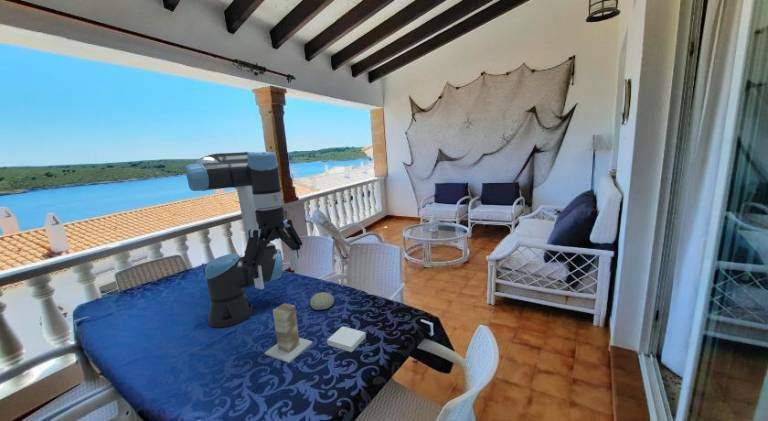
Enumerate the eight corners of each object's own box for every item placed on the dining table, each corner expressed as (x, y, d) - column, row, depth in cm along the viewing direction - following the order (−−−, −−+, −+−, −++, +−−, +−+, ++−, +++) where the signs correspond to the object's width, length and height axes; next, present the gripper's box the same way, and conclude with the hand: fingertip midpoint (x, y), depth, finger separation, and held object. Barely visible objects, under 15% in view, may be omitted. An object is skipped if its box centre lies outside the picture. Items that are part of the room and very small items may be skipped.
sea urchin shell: (330, 307, 112) (315, 293, 112) (318, 320, 114) (303, 306, 114) (339, 296, 121) (324, 282, 121) (327, 308, 123) (313, 295, 123)
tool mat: (264, 354, 90) (264, 352, 90) (289, 336, 98) (289, 334, 98) (289, 363, 85) (289, 361, 85) (312, 343, 94) (312, 341, 94)
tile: (327, 339, 92) (351, 347, 88) (342, 326, 99) (365, 332, 95) (327, 346, 93) (351, 353, 88) (343, 332, 99) (366, 338, 95)
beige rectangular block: (289, 353, 89) (283, 312, 86) (278, 349, 91) (272, 310, 88) (299, 344, 93) (294, 305, 90) (289, 341, 95) (284, 303, 92)
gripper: (238, 217, 71) (251, 299, 75) (309, 200, 93) (316, 265, 97) (219, 216, 75) (232, 294, 79) (291, 200, 97) (298, 262, 100)
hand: (278, 278), depth 88 cm, fingers open, 13 cm apart
